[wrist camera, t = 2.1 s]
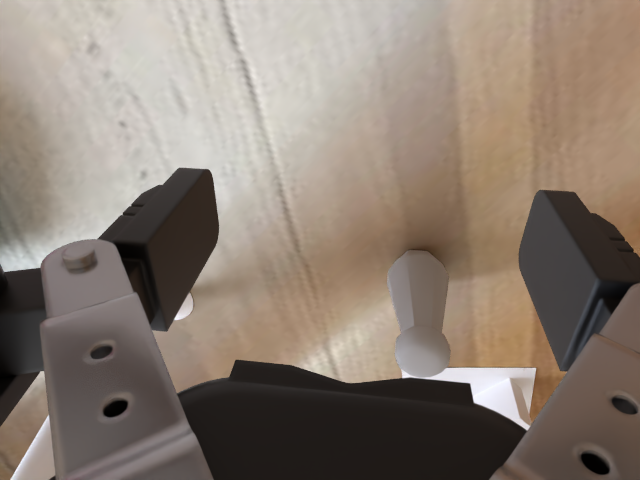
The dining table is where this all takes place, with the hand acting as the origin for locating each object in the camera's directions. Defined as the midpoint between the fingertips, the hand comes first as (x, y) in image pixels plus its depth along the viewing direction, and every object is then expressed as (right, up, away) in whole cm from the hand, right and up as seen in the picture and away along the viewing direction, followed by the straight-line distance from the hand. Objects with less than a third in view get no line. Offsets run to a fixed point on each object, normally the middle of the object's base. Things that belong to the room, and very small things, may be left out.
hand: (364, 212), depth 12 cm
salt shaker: (+9, -3, +35) cm, 36 cm away
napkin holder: (+17, -20, +45) cm, 52 cm away
